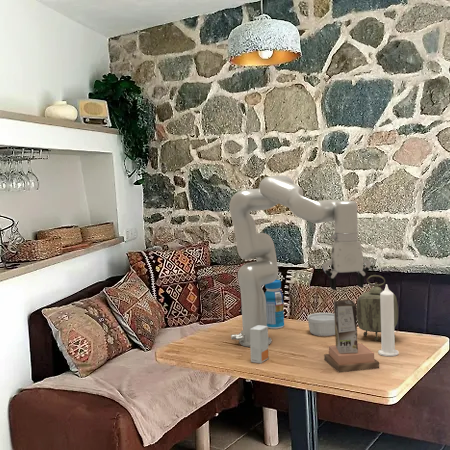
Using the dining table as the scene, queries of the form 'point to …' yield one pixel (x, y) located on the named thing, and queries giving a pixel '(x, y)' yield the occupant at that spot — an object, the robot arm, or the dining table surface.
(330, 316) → the ramekin
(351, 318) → the coffee box
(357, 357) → the tower top block
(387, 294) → the candle
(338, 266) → the robot arm
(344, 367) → the tower base block
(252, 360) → the skincare box
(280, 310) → the beverage bottle
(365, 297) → the tabletop clock
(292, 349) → the dining table surface
